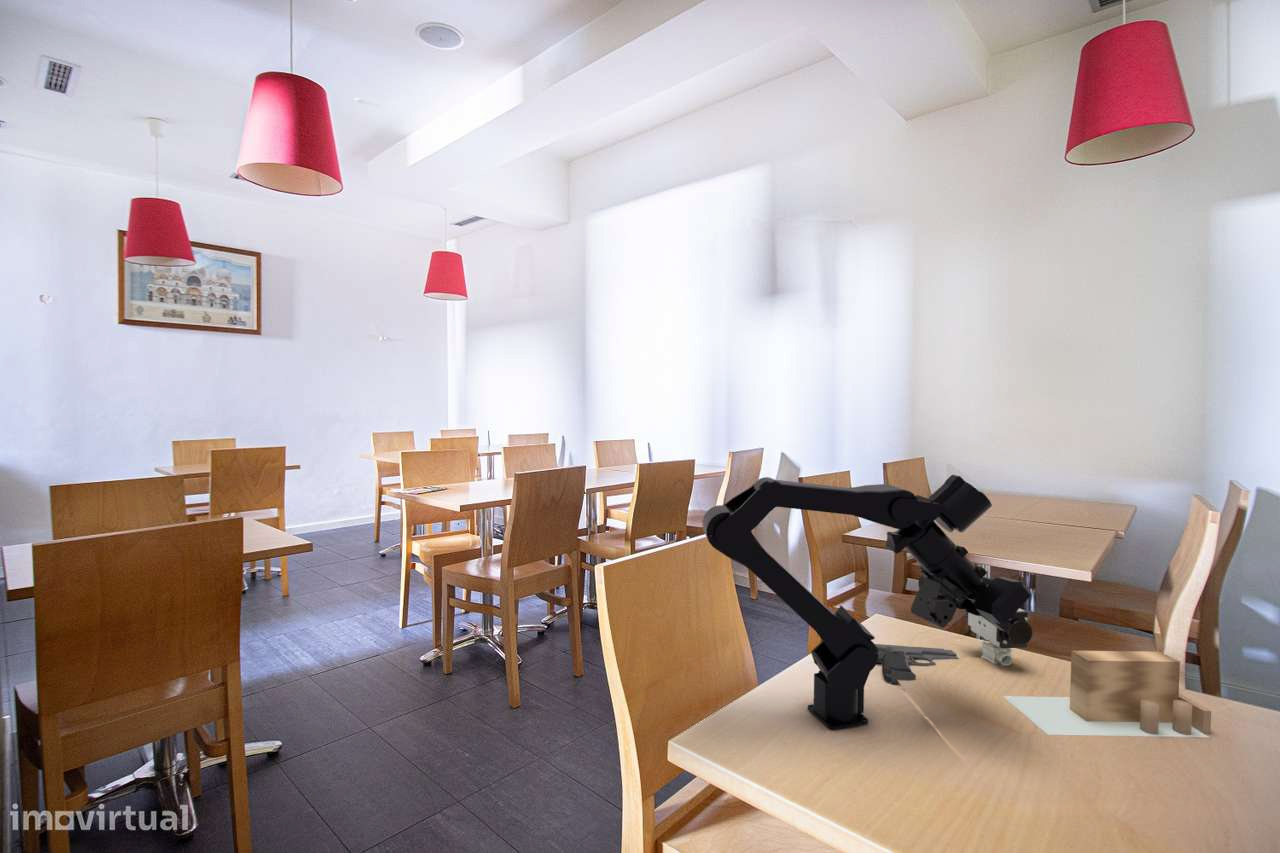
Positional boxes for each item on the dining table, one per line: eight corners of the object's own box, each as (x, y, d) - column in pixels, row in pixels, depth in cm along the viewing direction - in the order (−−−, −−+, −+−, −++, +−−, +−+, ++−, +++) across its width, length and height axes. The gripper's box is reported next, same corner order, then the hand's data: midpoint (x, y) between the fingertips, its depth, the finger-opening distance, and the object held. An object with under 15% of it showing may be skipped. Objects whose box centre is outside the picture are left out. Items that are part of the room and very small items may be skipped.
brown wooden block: (1086, 721, 88) (1088, 660, 88) (1069, 709, 92) (1071, 650, 91) (1177, 722, 88) (1179, 661, 87) (1157, 710, 91) (1159, 651, 91)
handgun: (986, 675, 101) (951, 644, 113) (887, 668, 101) (862, 638, 113) (984, 694, 101) (949, 661, 113) (885, 687, 101) (861, 655, 113)
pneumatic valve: (986, 649, 115) (988, 587, 115) (1032, 677, 104) (1034, 608, 103) (959, 650, 115) (960, 588, 114) (1002, 679, 103) (1004, 609, 103)
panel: (1047, 740, 85) (1048, 706, 85) (1002, 701, 96) (1003, 671, 95) (1216, 742, 84) (1218, 709, 84) (1152, 703, 95) (1153, 673, 95)
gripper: (869, 579, 98) (933, 648, 99) (937, 607, 80) (1015, 692, 80) (915, 531, 100) (979, 600, 100) (992, 547, 81) (1070, 632, 81)
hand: (1006, 629), depth 90 cm, fingers closed
